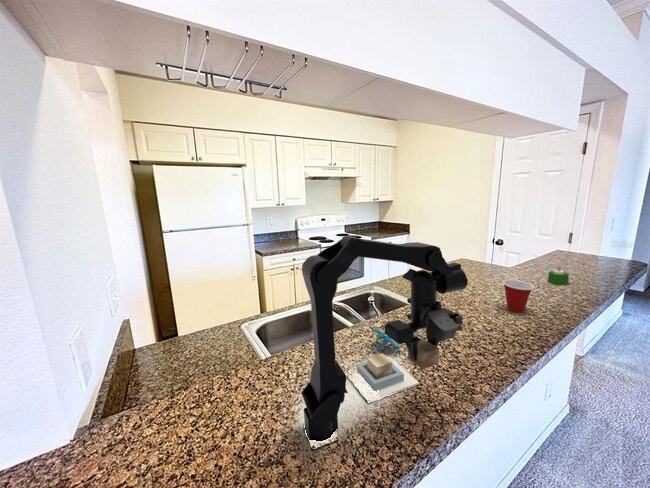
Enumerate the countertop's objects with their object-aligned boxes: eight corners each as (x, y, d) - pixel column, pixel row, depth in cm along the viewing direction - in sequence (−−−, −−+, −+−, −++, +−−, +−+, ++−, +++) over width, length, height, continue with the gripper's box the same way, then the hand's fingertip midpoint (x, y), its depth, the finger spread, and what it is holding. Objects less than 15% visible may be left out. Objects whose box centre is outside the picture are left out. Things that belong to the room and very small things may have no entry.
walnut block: (422, 369, 64) (422, 353, 63) (407, 358, 68) (408, 343, 67) (438, 363, 66) (438, 348, 65) (423, 353, 70) (423, 338, 69)
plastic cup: (524, 317, 110) (526, 289, 108) (496, 309, 119) (497, 282, 117) (537, 311, 115) (539, 283, 113) (509, 303, 124) (510, 277, 122)
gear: (407, 350, 88) (385, 332, 86) (396, 365, 87) (374, 348, 85) (390, 338, 99) (371, 322, 97) (381, 352, 98) (361, 336, 96)
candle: (544, 282, 150) (545, 264, 148) (554, 280, 152) (556, 262, 150) (560, 286, 142) (562, 267, 140) (571, 284, 144) (573, 265, 143)
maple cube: (377, 384, 74) (376, 367, 73) (367, 373, 79) (367, 357, 78) (392, 378, 76) (392, 362, 75) (382, 368, 81) (381, 353, 80)
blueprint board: (368, 404, 68) (368, 393, 68) (343, 372, 81) (343, 363, 81) (419, 385, 74) (419, 375, 74) (388, 358, 87) (388, 349, 86)
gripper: (415, 317, 53) (414, 389, 56) (482, 300, 60) (479, 364, 63) (382, 299, 63) (383, 360, 66) (443, 286, 70) (442, 342, 73)
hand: (422, 357), depth 67 cm, fingers closed on walnut block, 5 cm apart
